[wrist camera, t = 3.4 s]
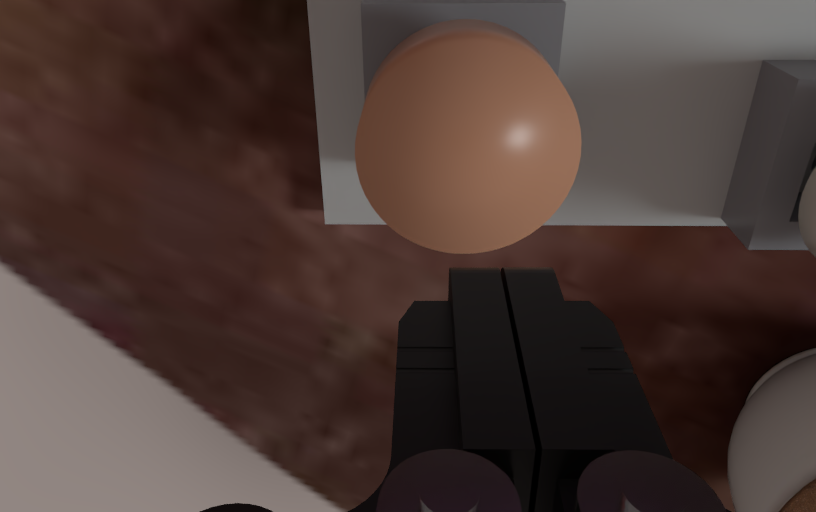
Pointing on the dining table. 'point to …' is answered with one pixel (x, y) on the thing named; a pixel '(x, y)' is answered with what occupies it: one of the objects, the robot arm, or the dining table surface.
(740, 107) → the panel
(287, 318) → the dining table surface
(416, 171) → the rust button
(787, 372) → the lidded jar
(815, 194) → the ivory button
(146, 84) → the dining table surface
